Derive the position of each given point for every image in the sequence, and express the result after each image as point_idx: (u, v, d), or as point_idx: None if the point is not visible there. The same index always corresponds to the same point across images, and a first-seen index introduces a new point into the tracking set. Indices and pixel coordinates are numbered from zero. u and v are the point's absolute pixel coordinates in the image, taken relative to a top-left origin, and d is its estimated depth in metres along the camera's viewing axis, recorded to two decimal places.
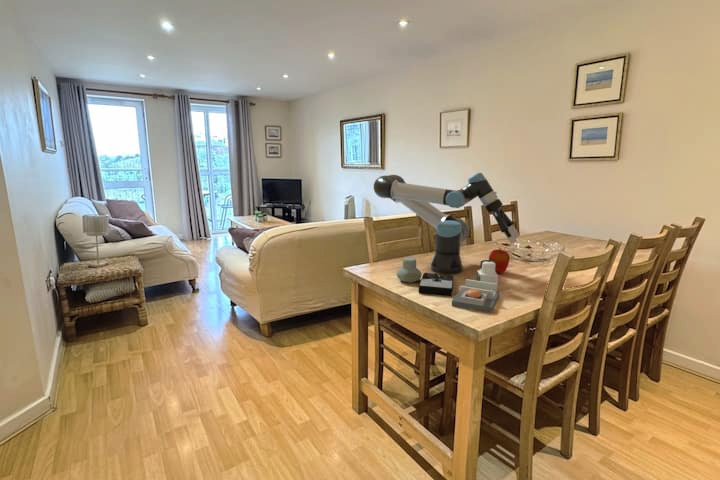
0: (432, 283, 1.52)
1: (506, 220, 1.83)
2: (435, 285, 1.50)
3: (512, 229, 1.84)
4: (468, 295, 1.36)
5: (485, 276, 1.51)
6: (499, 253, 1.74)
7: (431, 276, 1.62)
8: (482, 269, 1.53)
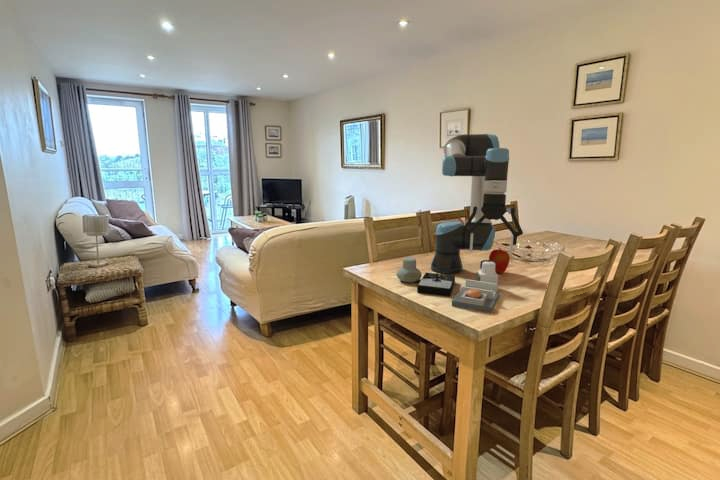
0: (431, 283, 1.52)
1: None
2: (433, 285, 1.50)
3: None
4: (468, 295, 1.36)
5: (485, 276, 1.51)
6: (499, 253, 1.74)
7: (432, 276, 1.62)
8: (482, 269, 1.53)
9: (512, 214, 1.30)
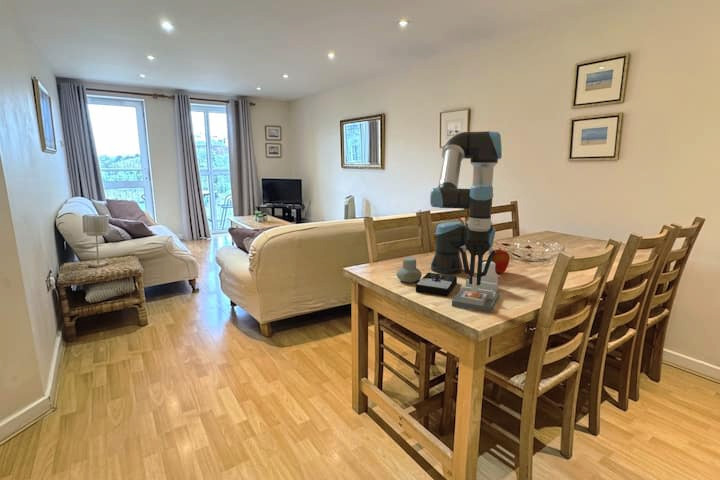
0: (430, 283, 1.52)
1: (478, 263, 1.34)
2: (432, 285, 1.50)
3: None
4: None
5: (485, 276, 1.51)
6: (499, 253, 1.74)
7: (433, 276, 1.62)
8: (482, 269, 1.53)
9: (490, 256, 1.31)
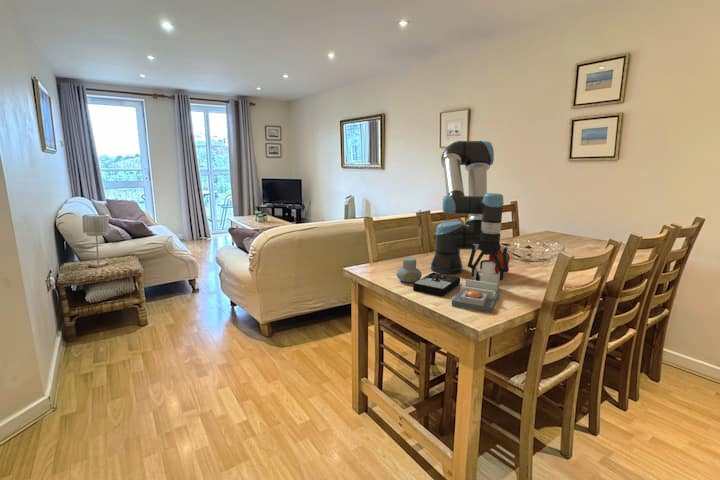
0: (428, 283, 1.53)
1: None
2: (429, 284, 1.51)
3: (498, 276, 1.53)
4: (468, 296, 1.36)
5: (485, 276, 1.51)
6: (499, 253, 1.74)
7: (435, 276, 1.62)
8: (482, 269, 1.53)
9: (503, 253, 1.49)
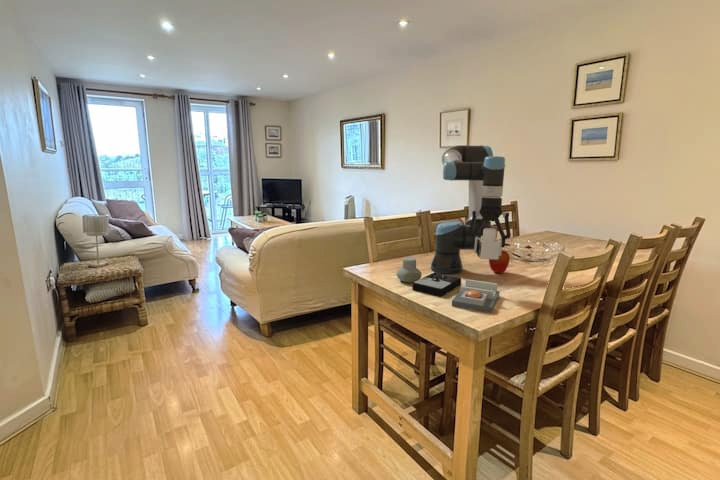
0: (427, 282, 1.53)
1: (498, 228, 1.46)
2: (428, 284, 1.51)
3: None
4: (468, 296, 1.36)
5: (486, 243, 1.46)
6: None
7: (436, 276, 1.62)
8: (483, 236, 1.47)
9: (505, 218, 1.43)
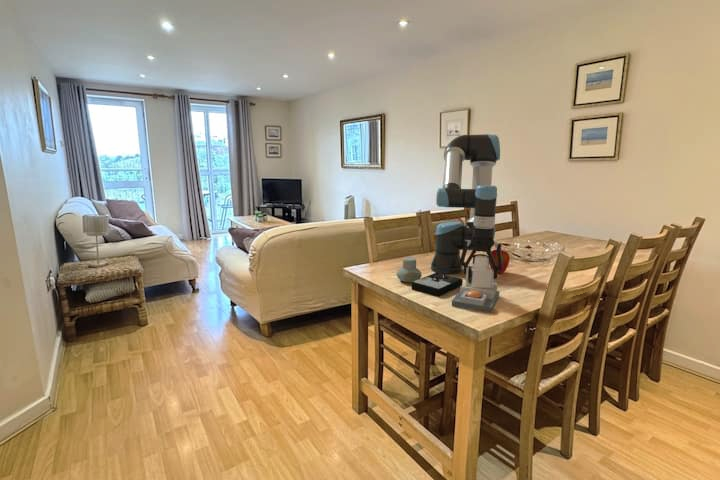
0: (427, 282, 1.54)
1: None
2: (427, 283, 1.52)
3: (491, 275, 1.42)
4: (468, 296, 1.36)
5: (478, 271, 1.40)
6: None
7: (438, 276, 1.62)
8: (475, 264, 1.42)
9: (497, 249, 1.38)
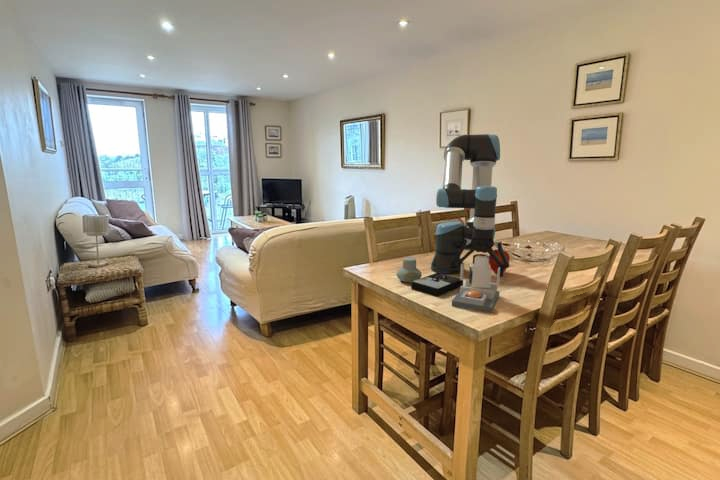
0: (426, 282, 1.54)
1: None
2: (426, 283, 1.52)
3: None
4: (468, 296, 1.36)
5: (478, 271, 1.40)
6: (499, 253, 1.74)
7: (438, 276, 1.62)
8: (475, 264, 1.42)
9: (499, 248, 1.38)
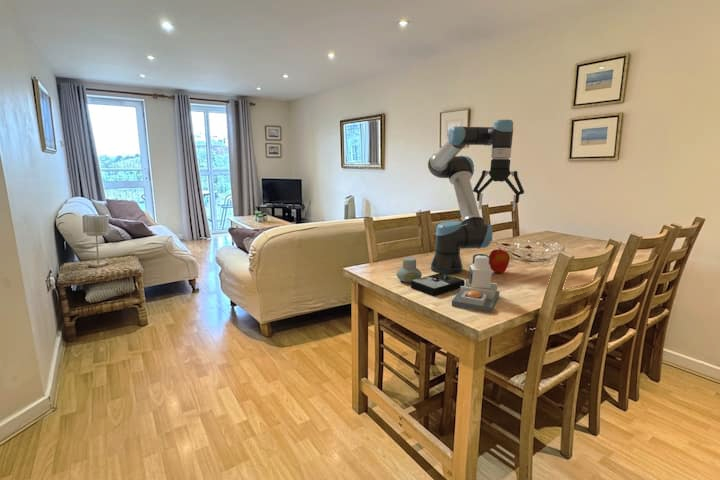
0: (425, 281, 1.54)
1: (510, 186, 1.55)
2: (425, 283, 1.53)
3: None
4: (468, 296, 1.36)
5: (478, 271, 1.40)
6: (499, 253, 1.74)
7: (440, 276, 1.61)
8: (475, 264, 1.42)
9: (515, 176, 1.53)
